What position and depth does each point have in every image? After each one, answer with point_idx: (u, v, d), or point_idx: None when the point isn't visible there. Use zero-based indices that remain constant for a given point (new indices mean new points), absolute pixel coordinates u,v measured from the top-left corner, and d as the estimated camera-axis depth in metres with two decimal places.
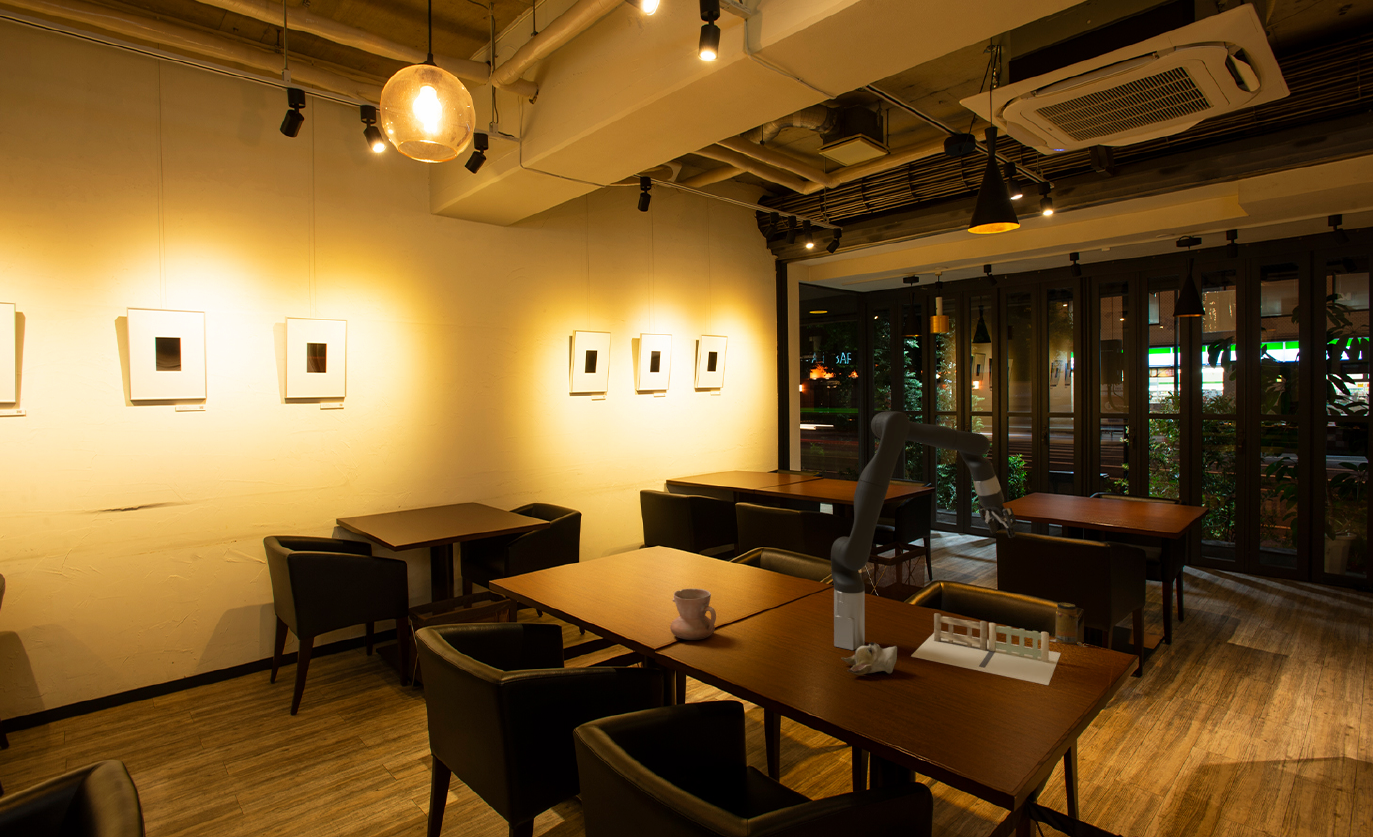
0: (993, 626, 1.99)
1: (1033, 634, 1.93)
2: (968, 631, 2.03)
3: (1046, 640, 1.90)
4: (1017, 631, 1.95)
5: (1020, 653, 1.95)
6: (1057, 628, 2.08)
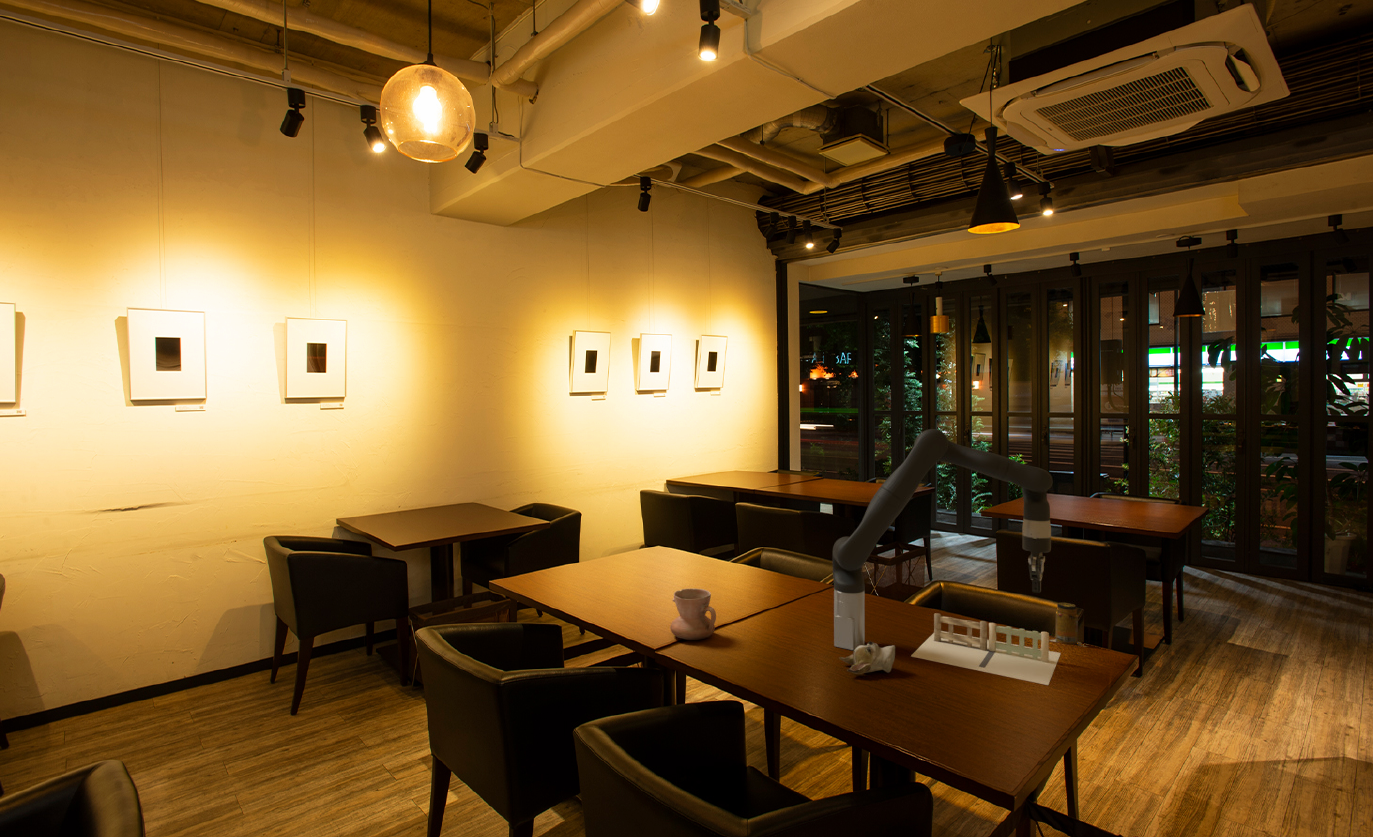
0: (993, 626, 1.99)
1: (1033, 634, 1.93)
2: (968, 631, 2.03)
3: (1046, 640, 1.90)
4: (1017, 631, 1.95)
5: (1020, 653, 1.95)
6: (1057, 628, 2.08)
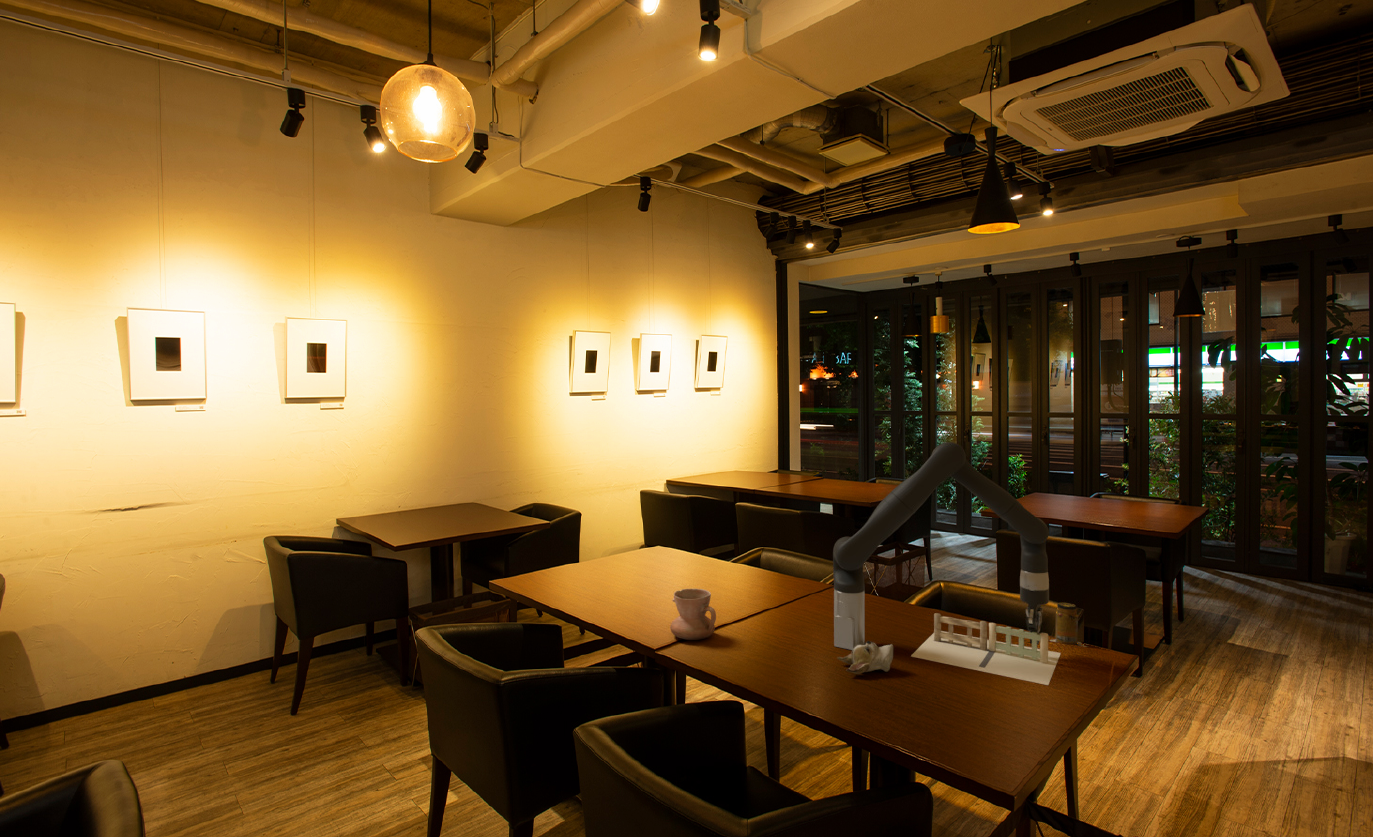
0: (993, 626, 1.99)
1: (1032, 635, 1.92)
2: (968, 631, 2.03)
3: (1045, 641, 1.90)
4: (1016, 631, 1.95)
5: (1019, 654, 1.94)
6: (1057, 628, 2.08)
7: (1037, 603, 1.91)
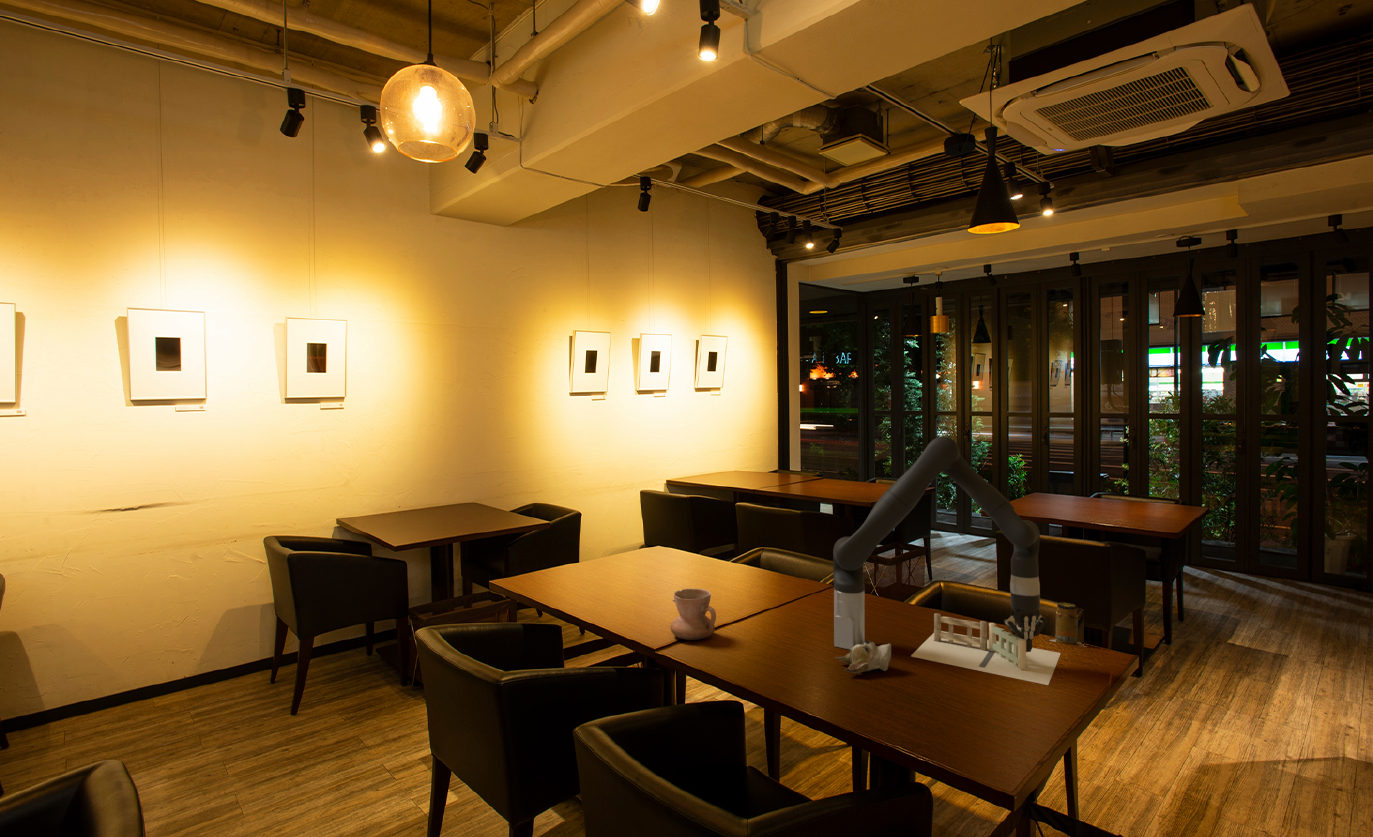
0: (990, 626, 1.99)
1: (1013, 639, 1.88)
2: (968, 631, 2.03)
3: (1020, 646, 1.85)
4: (1004, 634, 1.93)
5: (1006, 657, 1.92)
6: (1057, 628, 2.08)
7: (1017, 607, 1.87)
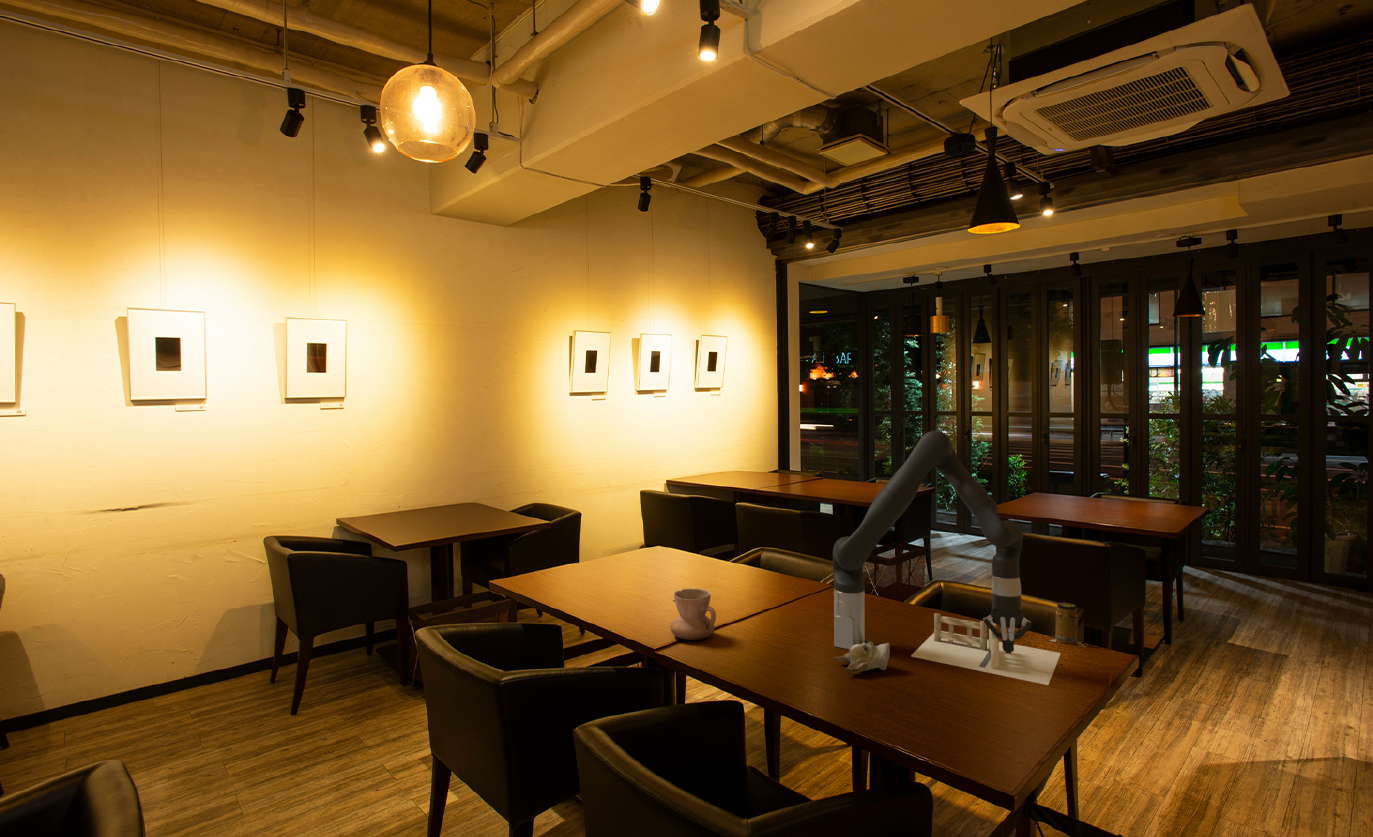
0: None
1: (992, 638, 1.89)
2: (968, 631, 2.03)
3: (991, 645, 1.86)
4: (991, 633, 1.93)
5: None
6: (1057, 628, 2.08)
7: (993, 606, 1.88)
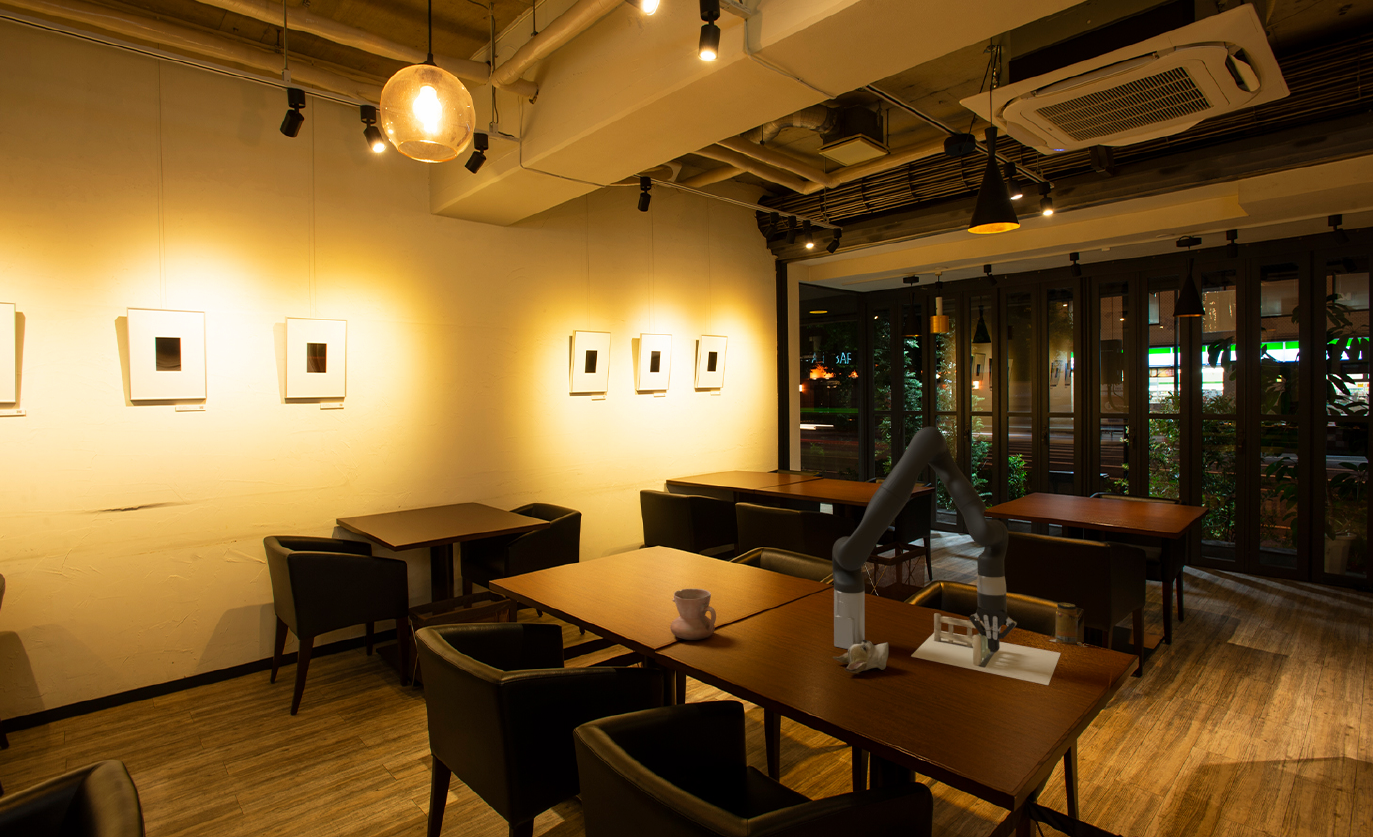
0: None
1: None
2: (968, 631, 2.03)
3: (973, 641, 1.89)
4: None
5: None
6: (1057, 628, 2.08)
7: None
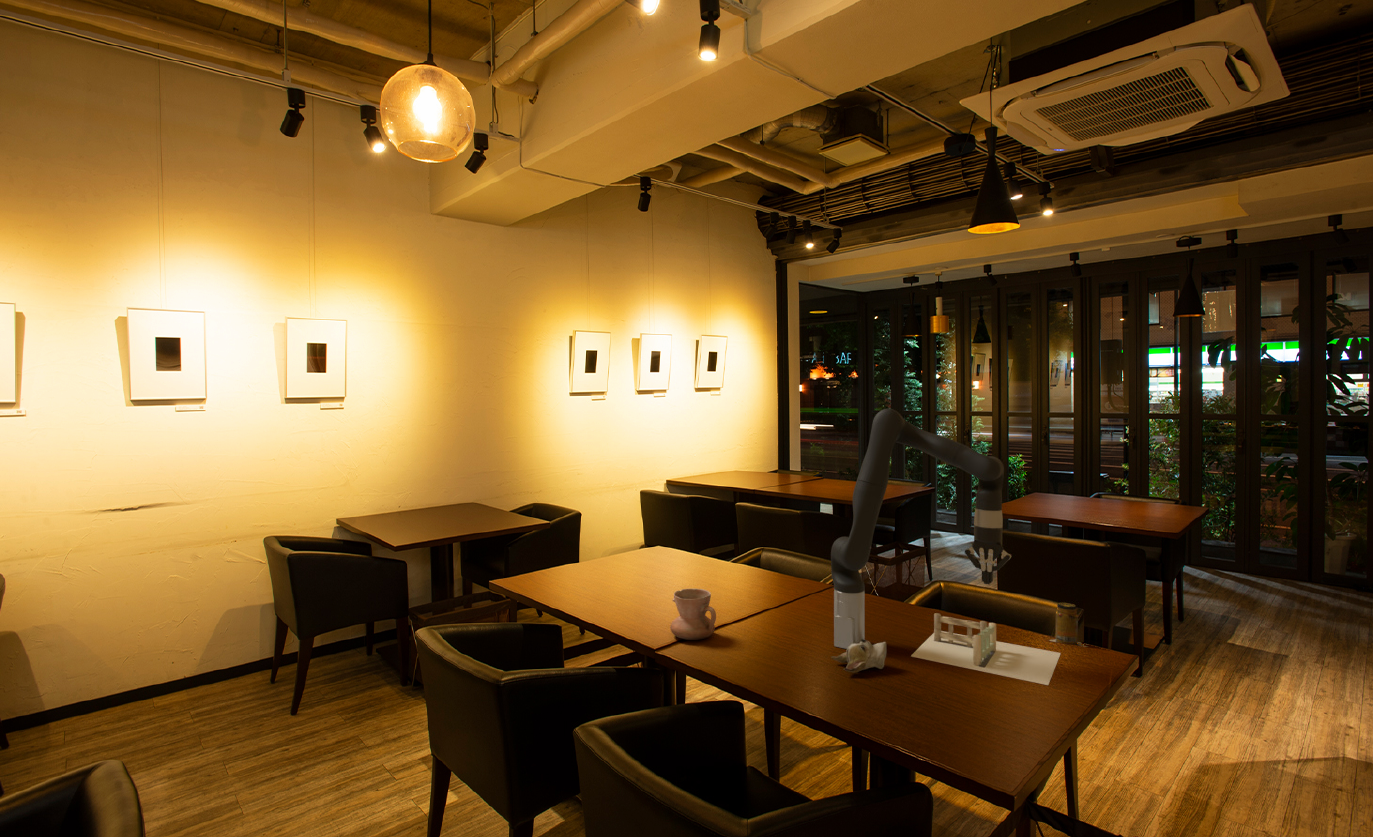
0: None
1: None
2: (968, 631, 2.03)
3: (973, 641, 1.89)
4: None
5: None
6: (1057, 628, 2.08)
7: (974, 538, 1.95)
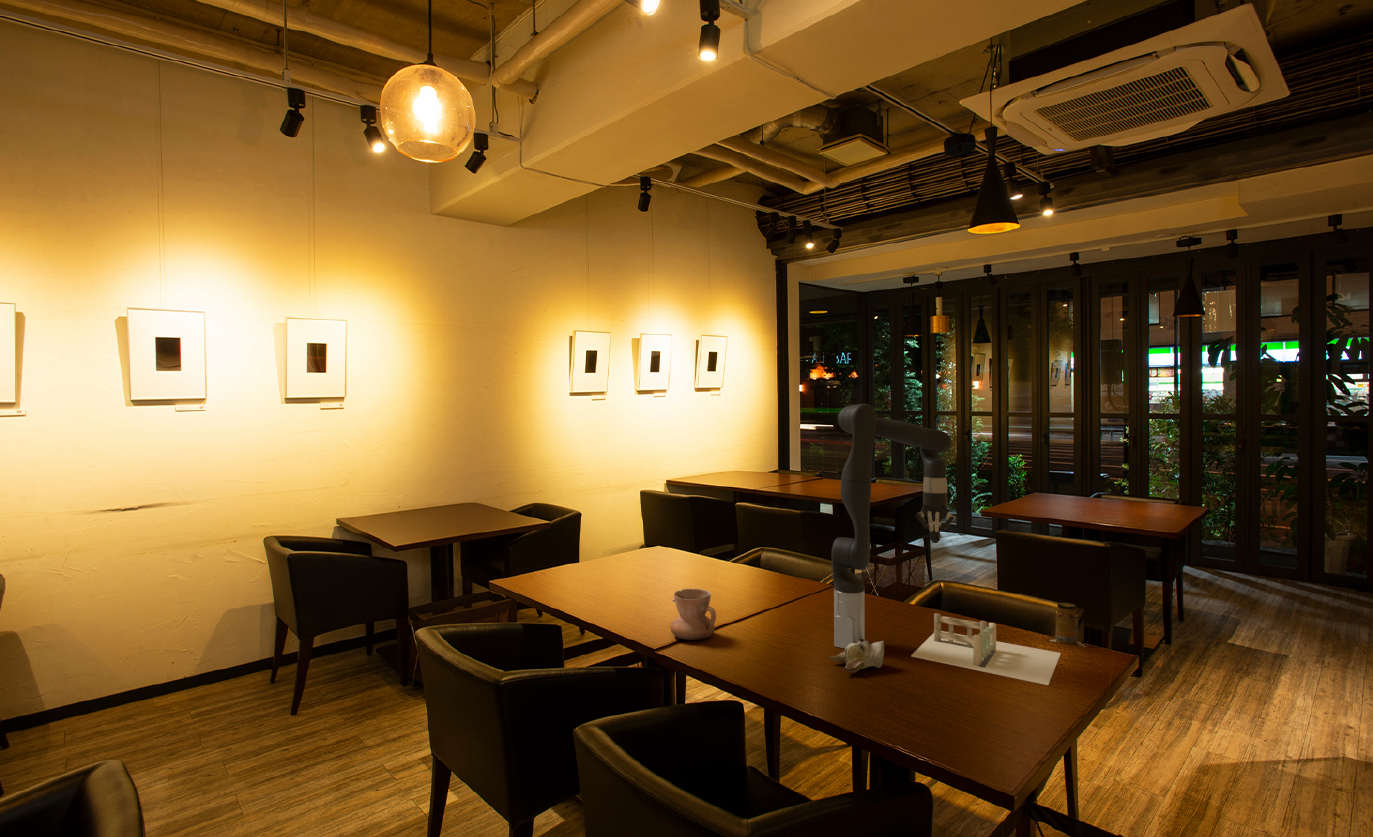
0: None
1: None
2: (968, 631, 2.03)
3: (973, 641, 1.89)
4: None
5: None
6: (1057, 628, 2.08)
7: (923, 502, 2.21)
